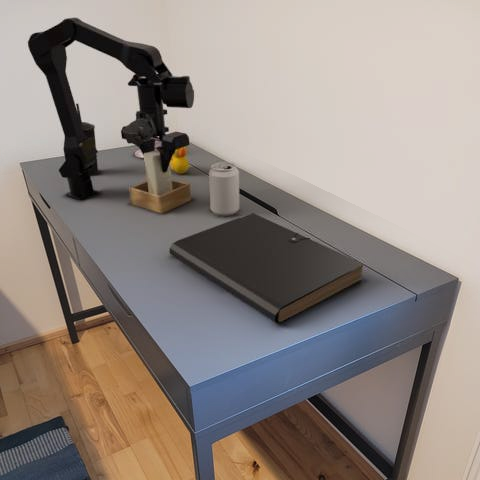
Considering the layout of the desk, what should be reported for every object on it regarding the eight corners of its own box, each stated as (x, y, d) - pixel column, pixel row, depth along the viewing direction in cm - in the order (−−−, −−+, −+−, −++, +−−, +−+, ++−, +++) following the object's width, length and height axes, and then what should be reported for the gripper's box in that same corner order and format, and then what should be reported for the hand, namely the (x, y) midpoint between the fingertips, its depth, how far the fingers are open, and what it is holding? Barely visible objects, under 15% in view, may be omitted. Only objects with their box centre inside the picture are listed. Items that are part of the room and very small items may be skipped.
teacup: (140, 161, 159) (137, 142, 156) (131, 151, 168) (128, 133, 165) (174, 156, 164) (173, 137, 160) (164, 147, 172) (162, 129, 169)
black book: (365, 262, 94) (275, 309, 81) (362, 280, 96) (274, 328, 84) (253, 211, 114) (168, 242, 102) (253, 227, 117) (170, 259, 104)
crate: (131, 204, 129) (128, 187, 127) (160, 191, 137) (159, 175, 134) (162, 213, 124) (160, 197, 121) (191, 200, 131) (189, 184, 129)
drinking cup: (107, 171, 151) (96, 102, 139) (89, 178, 146) (76, 107, 134) (90, 167, 154) (78, 99, 143) (72, 173, 149) (57, 104, 138)
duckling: (194, 177, 146) (192, 143, 140) (177, 179, 145) (174, 145, 139) (183, 166, 155) (181, 134, 149) (167, 168, 153) (164, 136, 147)
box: (163, 189, 132) (159, 148, 125) (173, 193, 129) (169, 152, 123) (148, 194, 129) (142, 153, 122) (157, 199, 126) (152, 156, 120)
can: (236, 218, 121) (235, 170, 114) (207, 215, 123) (205, 169, 116) (241, 206, 127) (241, 161, 120) (214, 204, 128) (212, 159, 122)
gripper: (99, 107, 115) (110, 171, 125) (155, 118, 106) (162, 186, 116) (133, 99, 123) (141, 160, 132) (188, 108, 114) (192, 173, 123)
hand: (158, 170), depth 125 cm, fingers closed on box, 4 cm apart
